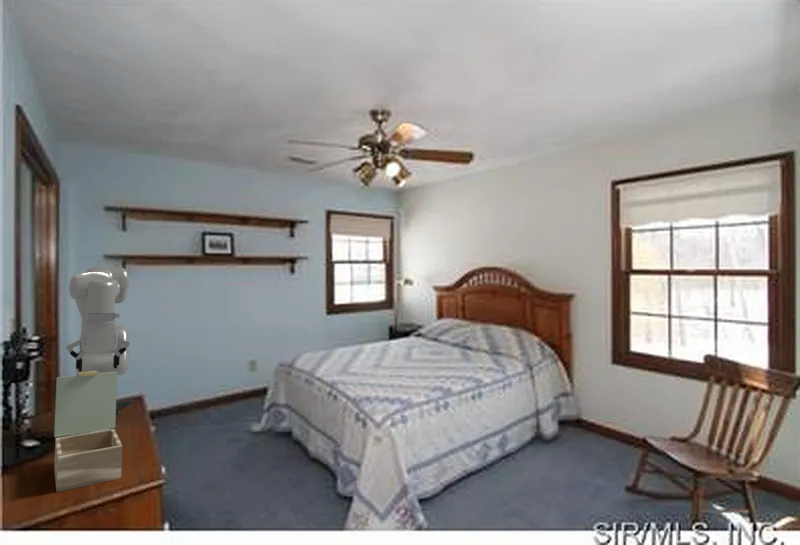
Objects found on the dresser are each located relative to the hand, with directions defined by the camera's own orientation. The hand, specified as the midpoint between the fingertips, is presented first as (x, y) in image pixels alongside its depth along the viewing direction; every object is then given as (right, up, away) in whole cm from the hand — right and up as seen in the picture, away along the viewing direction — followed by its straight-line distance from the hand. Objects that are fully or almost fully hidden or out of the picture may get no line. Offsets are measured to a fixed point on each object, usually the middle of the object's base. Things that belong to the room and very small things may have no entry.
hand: (97, 369), depth 146 cm
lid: (-4, -11, +1) cm, 12 cm away
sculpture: (-29, -31, +53) cm, 68 cm away
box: (0, -32, -6) cm, 32 cm away
